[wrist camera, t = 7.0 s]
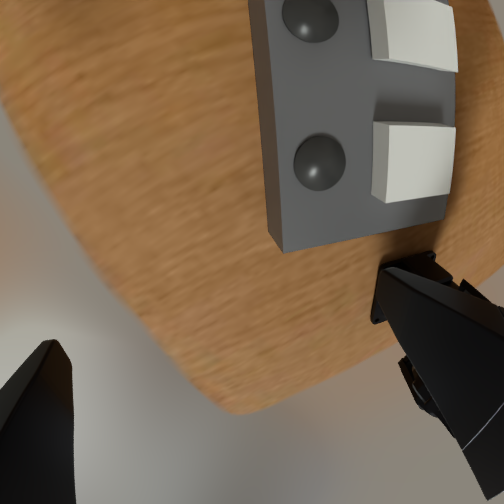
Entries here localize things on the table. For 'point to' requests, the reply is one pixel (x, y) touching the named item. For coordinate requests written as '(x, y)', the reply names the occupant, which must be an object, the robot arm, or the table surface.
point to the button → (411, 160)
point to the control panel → (334, 120)
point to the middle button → (413, 33)
